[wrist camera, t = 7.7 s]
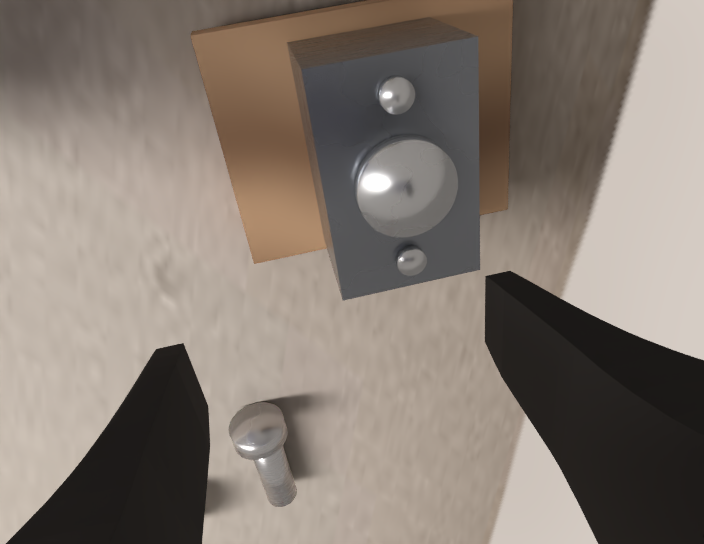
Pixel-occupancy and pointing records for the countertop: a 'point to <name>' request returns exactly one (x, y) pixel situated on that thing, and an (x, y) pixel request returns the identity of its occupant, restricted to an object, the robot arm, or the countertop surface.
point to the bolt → (265, 448)
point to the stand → (285, 119)
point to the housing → (393, 150)
